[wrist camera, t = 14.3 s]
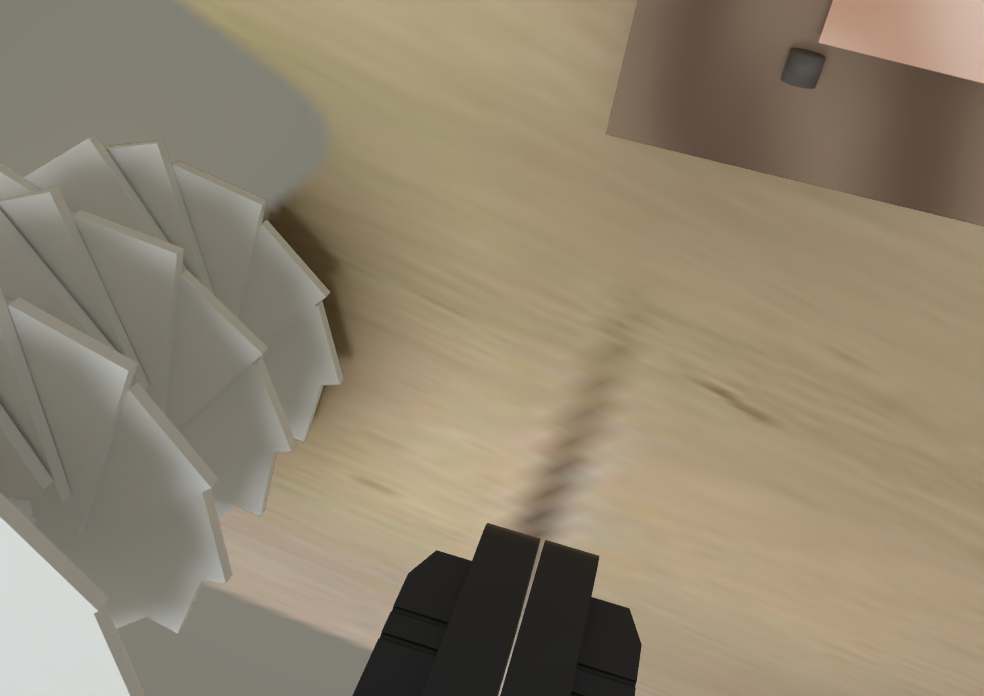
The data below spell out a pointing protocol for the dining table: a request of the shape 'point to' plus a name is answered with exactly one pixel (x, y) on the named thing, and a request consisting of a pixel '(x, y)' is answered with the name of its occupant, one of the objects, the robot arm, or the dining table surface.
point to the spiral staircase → (136, 399)
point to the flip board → (800, 104)
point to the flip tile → (912, 33)
